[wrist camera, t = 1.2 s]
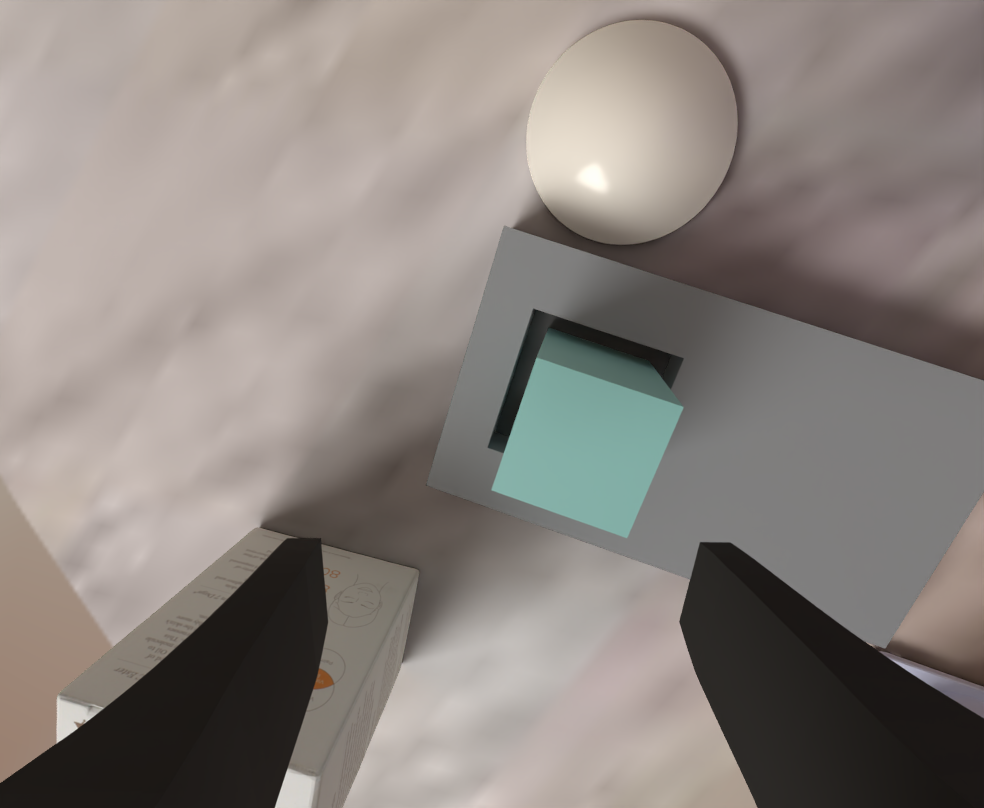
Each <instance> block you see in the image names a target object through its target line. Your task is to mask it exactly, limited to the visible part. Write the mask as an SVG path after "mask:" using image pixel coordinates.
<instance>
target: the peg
mask: <svg viewBox="0 0 984 808" xmlns="http://www.w3.org/2000/svg"><path fill="white" fill-rule="evenodd" d="M683 408H684V407H683V405H682V404H681V403H680V401H679V400H678V399H677V397H676V396H675V395H674V393H673V392H672V391H671V389H670V388H669V387H668V386H667V384H666V383H665V382H664V380H663V379H662V378H661V376H660V375H659V374H658V372H657V371H656V370H655V368H654V367H653V366H652V364H651V363H650V362H649V361H648V360H645V359H642V358H639V357H636V356H633V355H630V354H627V353H624V352H621V351H618V350H615V349H612V348H609V347H606V346H603V345H600V344H597V343H594V342H591V341H588V340H585V339H582V338H579V337H576V336H573V335H570V334H567V333H564V332H561V331H558V330H555V329H552V328H548V330H547V333H546V335H545V338H544V340H543V343H542V345H541V348H540V350H539V352H538V355H537V357H536V360H535V363H534V366H533V369H532V372H531V375H530V378H529V381H528V384H527V387H526V390H525V393H524V396H523V398H522V401H521V404H520V407H519V410H518V413H517V416H516V419H515V422H514V425H513V428H512V431H511V434H510V437H509V440H508V443H507V445H506V448H505V451H504V454H503V457H502V460H501V463H500V466H499V469H498V472H497V475H496V478H495V481H494V484H493V487H492V491H495V492H498V493H500V494H503V495H506V496H509V497H512V498H515V499H517V500H520V501H523V502H526V503H529V504H532V505H534V506H537V507H540V508H543V509H546V510H549V511H551V512H554V513H557V514H560V515H563V516H565V517H568V518H571V519H574V520H577V521H580V522H582V523H585V524H588V525H591V526H594V527H597V528H599V529H602V530H605V531H608V532H611V533H614V534H616V535H619V536H622V537H625V538H627V537H628V535H629V533H630V530H631V528H632V526H633V523H634V521H635V519H636V517H637V514H638V512H639V510H640V507H641V505H642V503H643V500H644V498H645V496H646V493H647V491H648V489H649V486H650V484H651V482H652V479H653V477H654V475H655V473H656V470H657V468H658V466H659V463H660V461H661V459H662V456H663V454H664V452H665V449H666V447H667V445H668V442H669V440H670V438H671V435H672V433H673V431H674V429H675V426H676V424H677V422H678V419H679V417H680V415H681V412H682V410H683Z"/></svg>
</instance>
